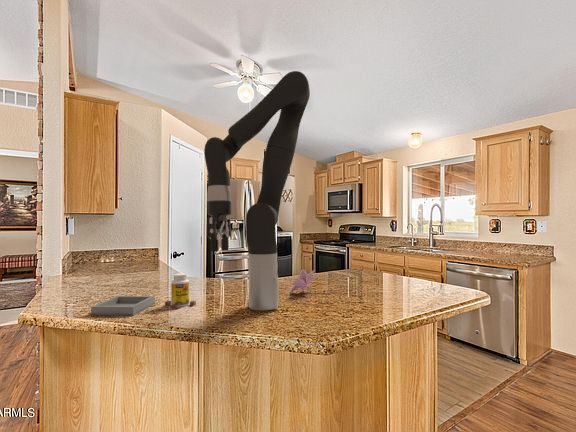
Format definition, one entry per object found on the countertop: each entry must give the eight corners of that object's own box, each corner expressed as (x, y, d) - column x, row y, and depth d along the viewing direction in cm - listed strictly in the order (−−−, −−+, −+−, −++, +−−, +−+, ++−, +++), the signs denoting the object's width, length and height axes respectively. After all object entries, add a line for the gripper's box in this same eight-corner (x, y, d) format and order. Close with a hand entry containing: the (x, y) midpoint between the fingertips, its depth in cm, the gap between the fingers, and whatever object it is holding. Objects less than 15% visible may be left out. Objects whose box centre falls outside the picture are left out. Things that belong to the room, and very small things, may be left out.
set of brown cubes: (199, 301, 106) (199, 297, 106) (189, 309, 97) (189, 305, 97) (172, 301, 107) (172, 297, 107) (159, 309, 97) (159, 305, 97)
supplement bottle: (173, 308, 98) (173, 276, 98) (169, 304, 102) (169, 274, 103) (191, 305, 101) (191, 274, 101) (186, 302, 106) (186, 272, 106)
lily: (320, 293, 120) (309, 270, 124) (328, 287, 110) (317, 263, 113) (293, 305, 117) (283, 282, 120) (299, 300, 106) (287, 275, 109)
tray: (154, 303, 104) (154, 296, 104) (133, 315, 91) (133, 306, 91) (117, 303, 104) (117, 296, 104) (91, 315, 91) (91, 306, 91)
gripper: (222, 197, 92) (222, 251, 91) (237, 202, 106) (238, 249, 105) (198, 198, 93) (199, 252, 92) (217, 203, 107) (217, 249, 106)
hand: (220, 250), depth 99 cm, fingers open, 8 cm apart
